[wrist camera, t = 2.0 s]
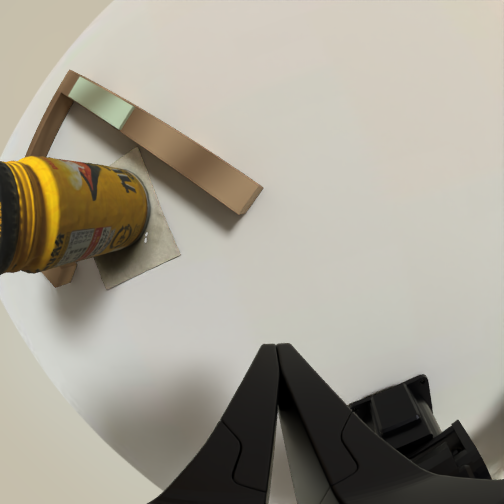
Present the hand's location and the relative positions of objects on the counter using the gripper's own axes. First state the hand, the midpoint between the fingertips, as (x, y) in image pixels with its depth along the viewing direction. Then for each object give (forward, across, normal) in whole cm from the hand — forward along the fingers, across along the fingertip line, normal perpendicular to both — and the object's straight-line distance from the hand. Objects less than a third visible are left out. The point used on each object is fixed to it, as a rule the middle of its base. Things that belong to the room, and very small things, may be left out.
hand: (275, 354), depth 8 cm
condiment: (+13, +10, -1) cm, 17 cm away
